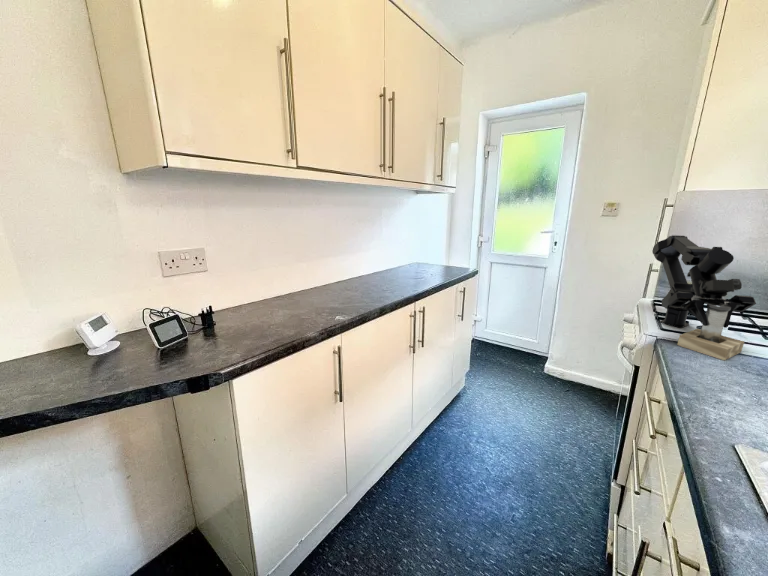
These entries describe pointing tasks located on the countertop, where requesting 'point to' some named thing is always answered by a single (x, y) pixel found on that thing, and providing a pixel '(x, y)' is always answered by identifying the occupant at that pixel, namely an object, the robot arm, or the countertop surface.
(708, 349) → the housing
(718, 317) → the capped cylinder
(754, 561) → the countertop surface
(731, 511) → the countertop surface
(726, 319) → the robot arm
